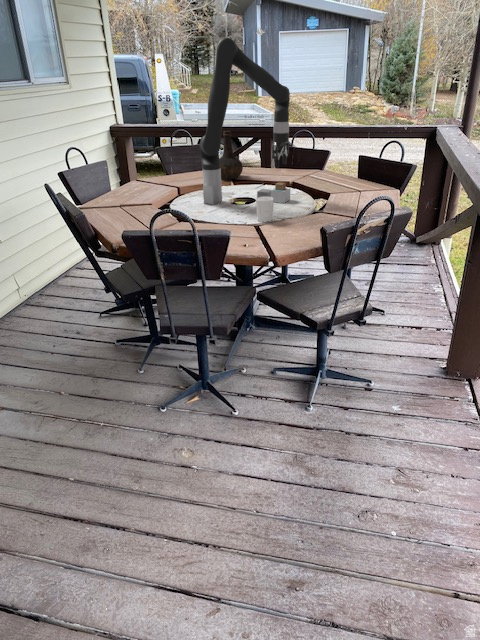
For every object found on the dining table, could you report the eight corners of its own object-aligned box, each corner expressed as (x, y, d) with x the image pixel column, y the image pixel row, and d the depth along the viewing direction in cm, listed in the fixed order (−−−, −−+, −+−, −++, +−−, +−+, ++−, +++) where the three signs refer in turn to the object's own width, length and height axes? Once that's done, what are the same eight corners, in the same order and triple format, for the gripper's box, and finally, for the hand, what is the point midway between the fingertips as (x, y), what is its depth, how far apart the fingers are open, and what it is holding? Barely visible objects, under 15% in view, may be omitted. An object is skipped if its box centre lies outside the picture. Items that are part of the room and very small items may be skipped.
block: (282, 202, 251) (282, 184, 246) (275, 201, 252) (275, 184, 248) (285, 200, 254) (285, 182, 249) (278, 199, 255) (278, 182, 251)
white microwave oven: (283, 203, 248) (284, 191, 245) (270, 202, 252) (270, 189, 249) (290, 199, 254) (290, 187, 251) (277, 198, 258) (277, 186, 255)
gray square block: (267, 201, 253) (267, 192, 251) (257, 200, 256) (257, 191, 254) (272, 198, 258) (272, 189, 256) (262, 197, 261) (262, 188, 259)
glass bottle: (232, 173, 315) (230, 127, 302) (248, 178, 302) (247, 130, 289) (209, 178, 306) (206, 130, 293) (225, 183, 293) (223, 133, 280)
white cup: (252, 220, 225) (252, 199, 220) (264, 216, 229) (264, 195, 225) (265, 223, 220) (265, 201, 215) (276, 219, 224) (277, 198, 220)
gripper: (281, 133, 230) (281, 169, 237) (294, 130, 240) (293, 163, 248) (267, 132, 233) (267, 167, 241) (280, 129, 244) (280, 162, 251)
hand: (280, 165), depth 244 cm, fingers open, 8 cm apart
